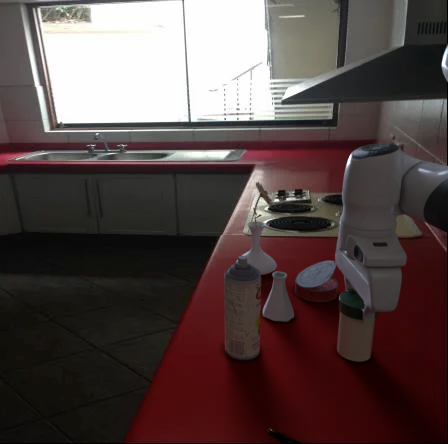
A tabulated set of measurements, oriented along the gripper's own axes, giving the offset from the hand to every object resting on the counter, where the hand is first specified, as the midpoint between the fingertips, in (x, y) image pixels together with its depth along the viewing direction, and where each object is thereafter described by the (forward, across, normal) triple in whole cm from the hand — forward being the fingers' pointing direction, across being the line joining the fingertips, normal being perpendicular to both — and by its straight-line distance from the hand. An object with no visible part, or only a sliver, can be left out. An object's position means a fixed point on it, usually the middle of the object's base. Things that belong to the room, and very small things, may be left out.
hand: (358, 308), depth 77 cm
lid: (-1, 0, 0) cm, 1 cm away
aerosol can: (+10, -1, -21) cm, 23 cm away
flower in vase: (+10, -39, -14) cm, 43 cm away
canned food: (+10, -25, -1) cm, 27 cm away
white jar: (+10, 0, 0) cm, 10 cm away
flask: (+10, -14, -12) cm, 21 cm away
